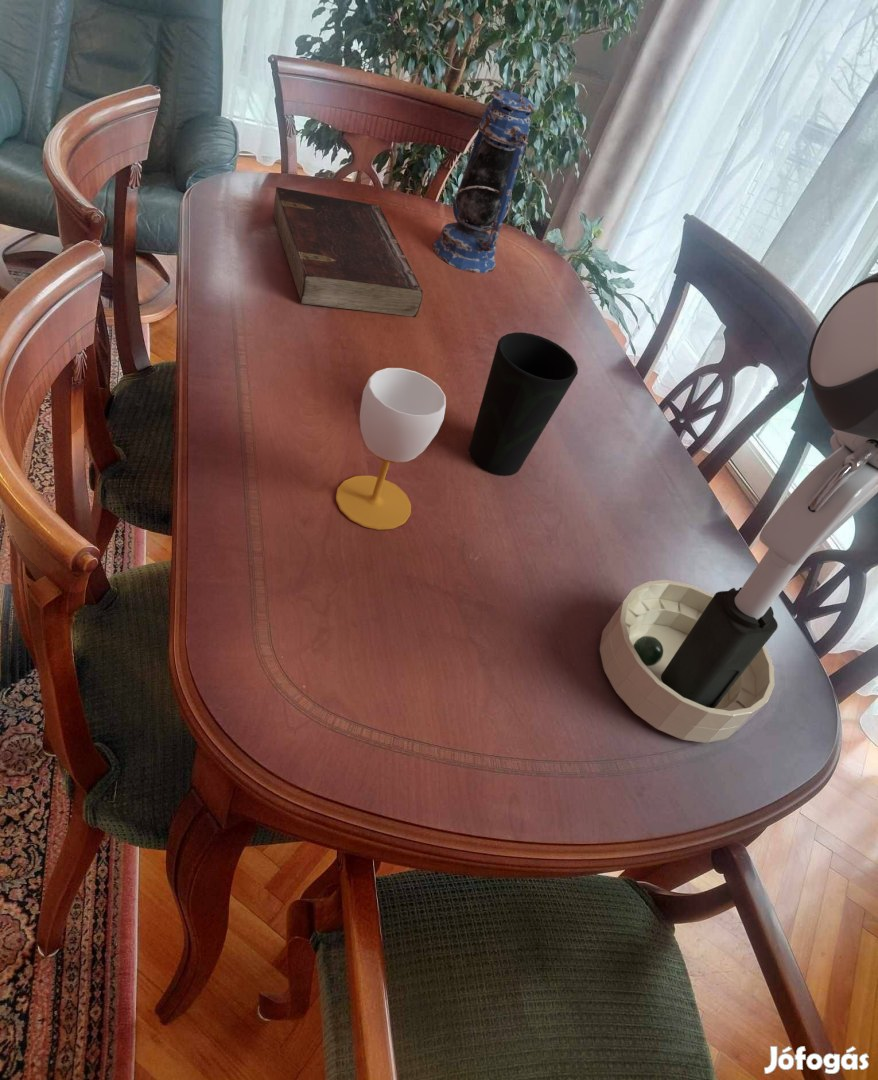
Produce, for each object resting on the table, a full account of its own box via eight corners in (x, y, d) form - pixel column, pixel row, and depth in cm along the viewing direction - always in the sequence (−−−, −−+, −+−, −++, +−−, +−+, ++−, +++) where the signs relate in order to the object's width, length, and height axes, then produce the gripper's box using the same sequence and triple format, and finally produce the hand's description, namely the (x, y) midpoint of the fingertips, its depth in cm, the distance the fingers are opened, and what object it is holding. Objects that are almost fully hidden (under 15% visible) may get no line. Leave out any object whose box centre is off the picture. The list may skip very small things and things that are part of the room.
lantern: (510, 278, 145) (574, 107, 125) (454, 276, 139) (511, 96, 119) (473, 236, 154) (527, 70, 133) (418, 233, 148) (466, 58, 127)
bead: (646, 675, 84) (665, 665, 82) (623, 658, 84) (642, 648, 81) (653, 653, 86) (672, 642, 84) (630, 636, 86) (649, 625, 83)
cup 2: (492, 491, 99) (538, 388, 88) (443, 442, 104) (481, 338, 93) (545, 471, 105) (594, 373, 95) (497, 426, 110) (538, 327, 99)
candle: (679, 713, 79) (809, 536, 62) (656, 672, 82) (774, 493, 65) (720, 708, 80) (858, 534, 64) (697, 668, 84) (822, 492, 67)
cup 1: (417, 532, 90) (457, 423, 79) (339, 528, 87) (371, 413, 76) (404, 479, 96) (440, 371, 85) (331, 473, 93) (359, 360, 82)
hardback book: (416, 317, 125) (425, 289, 122) (300, 305, 118) (306, 275, 114) (375, 230, 143) (381, 203, 140) (272, 215, 136) (276, 186, 132)
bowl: (744, 772, 79) (777, 742, 75) (586, 704, 79) (611, 671, 75) (742, 650, 92) (771, 618, 88) (607, 592, 92) (629, 558, 88)
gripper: (889, 495, 50) (769, 626, 60) (969, 417, 64) (861, 535, 73) (806, 437, 53) (703, 572, 62) (900, 374, 66) (803, 493, 75)
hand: (789, 551), depth 68 cm, fingers closed on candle, 3 cm apart
